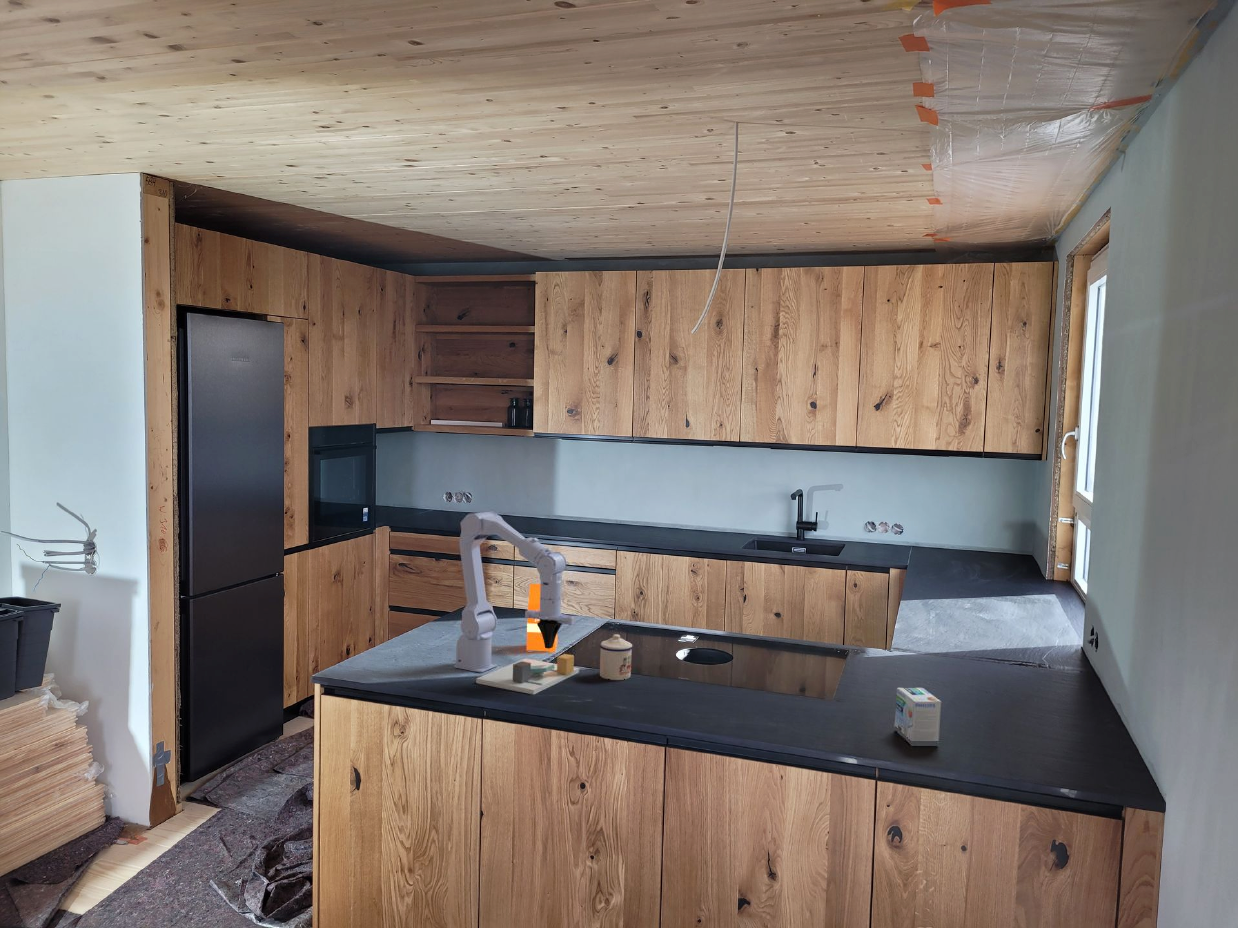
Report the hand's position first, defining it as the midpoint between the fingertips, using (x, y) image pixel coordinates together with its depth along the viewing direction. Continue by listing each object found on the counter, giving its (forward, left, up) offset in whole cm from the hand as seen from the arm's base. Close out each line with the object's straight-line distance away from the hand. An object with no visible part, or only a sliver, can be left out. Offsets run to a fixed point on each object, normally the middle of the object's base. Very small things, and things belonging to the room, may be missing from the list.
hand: (548, 647), depth 248 cm
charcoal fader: (-4, -6, -8) cm, 11 cm away
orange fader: (+2, +6, -8) cm, 10 cm away
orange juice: (-19, +29, -10) cm, 36 cm away
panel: (-6, +1, -9) cm, 11 cm away
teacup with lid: (+13, +17, -10) cm, 23 cm away
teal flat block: (-3, 0, -6) cm, 7 cm away
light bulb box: (+95, +10, -10) cm, 96 cm away
